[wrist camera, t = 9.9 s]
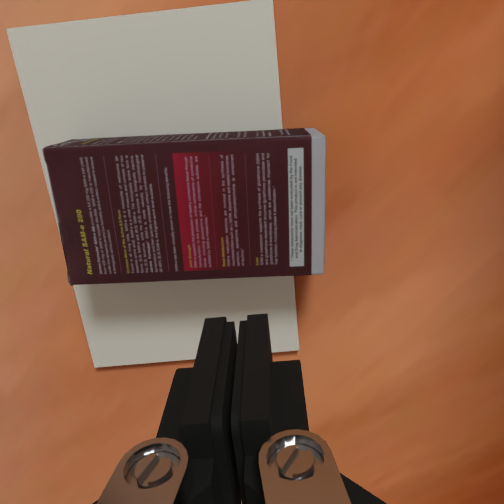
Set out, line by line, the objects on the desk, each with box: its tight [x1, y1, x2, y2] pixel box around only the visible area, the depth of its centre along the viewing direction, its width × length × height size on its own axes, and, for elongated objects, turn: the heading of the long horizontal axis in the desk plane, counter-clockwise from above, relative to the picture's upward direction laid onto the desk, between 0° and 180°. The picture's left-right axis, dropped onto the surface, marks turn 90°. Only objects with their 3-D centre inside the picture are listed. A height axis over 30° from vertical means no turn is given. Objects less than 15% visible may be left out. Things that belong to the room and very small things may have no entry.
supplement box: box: [42, 128, 326, 286], centre depth 28 cm, size 9×5×16 cm
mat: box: [6, 0, 299, 368], centre depth 31 cm, size 16×24×1 cm, turn 6°
